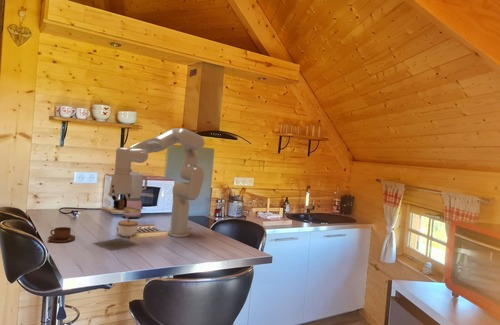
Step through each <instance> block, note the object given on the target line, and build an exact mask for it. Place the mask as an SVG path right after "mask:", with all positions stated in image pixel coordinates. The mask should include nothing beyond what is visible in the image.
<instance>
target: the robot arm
mask: <svg viewBox="0 0 500 325" xmlns="http://www.w3.org/2000/svg"><path fill="white" fill-rule="evenodd" d="M176 144H180V146H181V147H182V149H183V151H184V157H183V161H182V165H181V168H180V171H179V176H180V179H182V180H185V181H188V182H185V181H178V182H176V183H174V185H173V187H172V203H173V204H172V213H171V223H170V226H171V227H170V230H169V231H168V232H167V235H168V236H170V237H175V238H185V237H189V236H190V232H189V231H191V230H193V226H188V223H189V222H188V220H189V210H190V202H189V201H195V200H196V199H198V197H199V196H200V193H201V190H202V186H203V182H204V179H205V171H204V169H203V167H201V166H199V165H198V163H199V153H198V151H199V150H202V149H203V148H204V146H205V139H204V137H203V136H201V135H200V134H197V133H195V132H193V131H192V130H189V129H186V128H180V127H178V128H177V127H174V128H170V129H168V130H166V131H164V132H162V133H160V134H158V135H156V136H154V137H151V138H148V139H145V140H142V141H140V142H136V143H135V144H133V145H131V146H128V147H123V146H122V147H117V148H116V151H115V164H114V173H113V174H112V177H111V181H110V186H109V192H108V193H107V194H108V196H109V197H110V198H111V199H112V200H113V205H112V206H114V208H117V209H118V208H119V201H118V199H120V198H119V197H120V196H121V195H122V199H123V200H125V203H124V208H126V206H127V200H128V198H129V197H130V195H132V194H133V192H132V178H131V175H130V173H131V172H132V171H133V170H132V169H131V168H132V163H139V164H141V163H145V162H146V161H147V160H148V159H149V154H152V153H158V152H163V151H164V150H167V149H168V148H170V147H172V146H174V145H176Z"/></svg>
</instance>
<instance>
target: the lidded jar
mask: <svg viewBox="0 0 500 325" xmlns="http://www.w3.org/2000/svg"><path fill="white" fill-rule="evenodd" d="M138 226H139V222H138V221H136V220H133V219H131V220H130V218H129V219H125V220H120V221H119V220H118V222H117V229H118V230H117V231H118V233H119V235H121V237H127V238H128V237H130V238H131V237H133V236H135V235H136V233H137V232H138ZM132 235H133V236H132Z"/></svg>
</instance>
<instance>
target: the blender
mask: <svg viewBox="0 0 500 325" xmlns="http://www.w3.org/2000/svg"><path fill="white" fill-rule="evenodd" d="M130 175H131V178H132V192H133V194H132V195H130V197H129V198H128V200H127V206H128V207H132V208H136V209H140V211H138V212H130V213H122V216H121V217H122V218H125V220H128V219H129V220H130V218H138V219H141V217H142V210H143V207H144V206H143V205H142V204H143V203H142V200H141V196H142V192H143V191H146V190H147V188H148V178H147V176H145V175H144V174H143V173H140V171H133V170H132V172H130ZM143 186H144V187H143Z"/></svg>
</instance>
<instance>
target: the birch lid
mask: <svg viewBox="0 0 500 325" xmlns="http://www.w3.org/2000/svg"><path fill="white" fill-rule="evenodd" d="M118 201H119V208H118V209H117V208H114V206H113V205H112V206H111V205H110V206H102V207H98V210H100V211H104V212H107V213H111V214H116V215H121V214H122V215H123V213H130V212H138V211H140V209H136V208H132V207H128V206H126V208H124V203H125V200H123V198H122V199H121V198H118Z"/></svg>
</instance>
